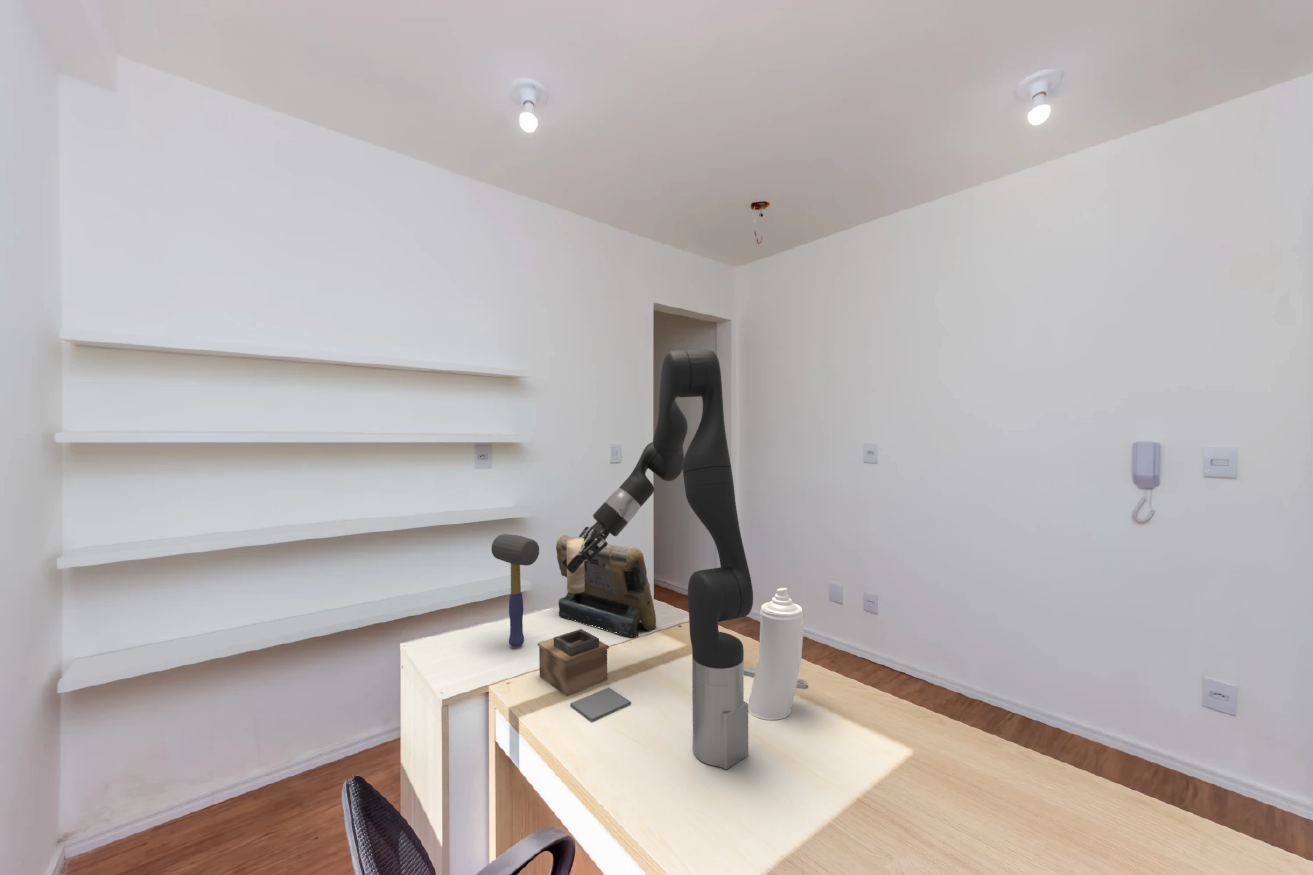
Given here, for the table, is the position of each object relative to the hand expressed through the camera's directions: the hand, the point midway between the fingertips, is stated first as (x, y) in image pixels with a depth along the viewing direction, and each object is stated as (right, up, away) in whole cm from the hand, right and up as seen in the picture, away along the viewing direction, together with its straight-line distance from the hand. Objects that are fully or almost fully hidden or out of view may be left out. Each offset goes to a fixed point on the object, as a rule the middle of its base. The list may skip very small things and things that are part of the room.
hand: (567, 567), depth 120 cm
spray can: (+45, -27, -10) cm, 54 cm away
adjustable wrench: (+43, -27, +3) cm, 51 cm away
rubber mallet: (-17, -26, +20) cm, 37 cm away
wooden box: (+1, -27, +3) cm, 27 cm away
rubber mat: (+9, -27, -9) cm, 30 cm away
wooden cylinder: (+2, -6, +1) cm, 6 cm away
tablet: (+5, -26, +38) cm, 46 cm away
